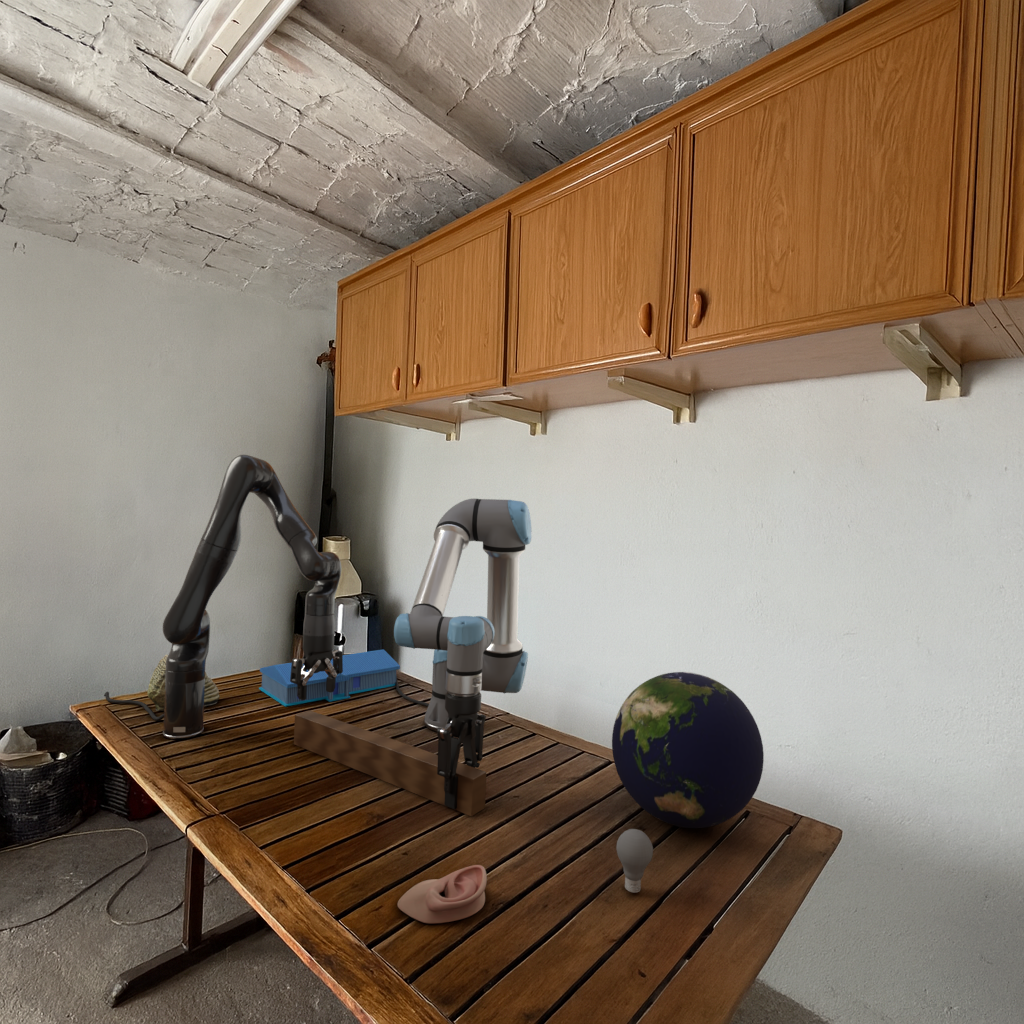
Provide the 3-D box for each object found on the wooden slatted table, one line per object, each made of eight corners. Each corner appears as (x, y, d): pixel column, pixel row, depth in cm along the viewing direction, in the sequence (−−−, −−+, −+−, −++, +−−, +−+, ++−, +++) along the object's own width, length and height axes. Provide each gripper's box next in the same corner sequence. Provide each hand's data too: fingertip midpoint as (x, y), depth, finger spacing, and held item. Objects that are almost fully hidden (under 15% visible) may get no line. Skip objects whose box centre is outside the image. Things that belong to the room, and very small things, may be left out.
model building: (289, 709, 186) (291, 675, 185) (258, 688, 204) (259, 657, 204) (403, 687, 212) (405, 657, 212) (366, 670, 230) (368, 643, 230)
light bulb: (610, 879, 108) (613, 822, 108) (644, 879, 109) (647, 822, 109) (619, 902, 102) (622, 840, 102) (655, 901, 103) (658, 840, 103)
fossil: (144, 707, 182) (145, 655, 182) (212, 696, 194) (213, 647, 194) (151, 716, 175) (153, 662, 175) (221, 703, 188) (223, 653, 188)
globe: (592, 836, 122) (599, 682, 122) (625, 776, 150) (631, 650, 149) (758, 877, 111) (767, 707, 110) (760, 804, 139) (767, 668, 138)
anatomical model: (390, 891, 96) (416, 850, 108) (389, 917, 96) (415, 874, 108) (474, 906, 94) (492, 863, 105) (473, 932, 94) (491, 887, 105)
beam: (293, 744, 161) (294, 714, 161) (308, 739, 165) (309, 710, 164) (471, 816, 128) (472, 779, 128) (485, 808, 132) (486, 771, 132)
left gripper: (304, 638, 151) (302, 705, 151) (351, 629, 163) (348, 692, 163) (285, 633, 155) (282, 699, 156) (331, 625, 167) (329, 686, 167)
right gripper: (449, 705, 123) (444, 824, 124) (502, 686, 138) (497, 792, 138) (421, 697, 127) (416, 812, 128) (475, 679, 142) (470, 782, 142)
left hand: (316, 695), depth 159 cm, fingers open, 8 cm apart
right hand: (458, 801), depth 133 cm, fingers closed on beam, 5 cm apart
